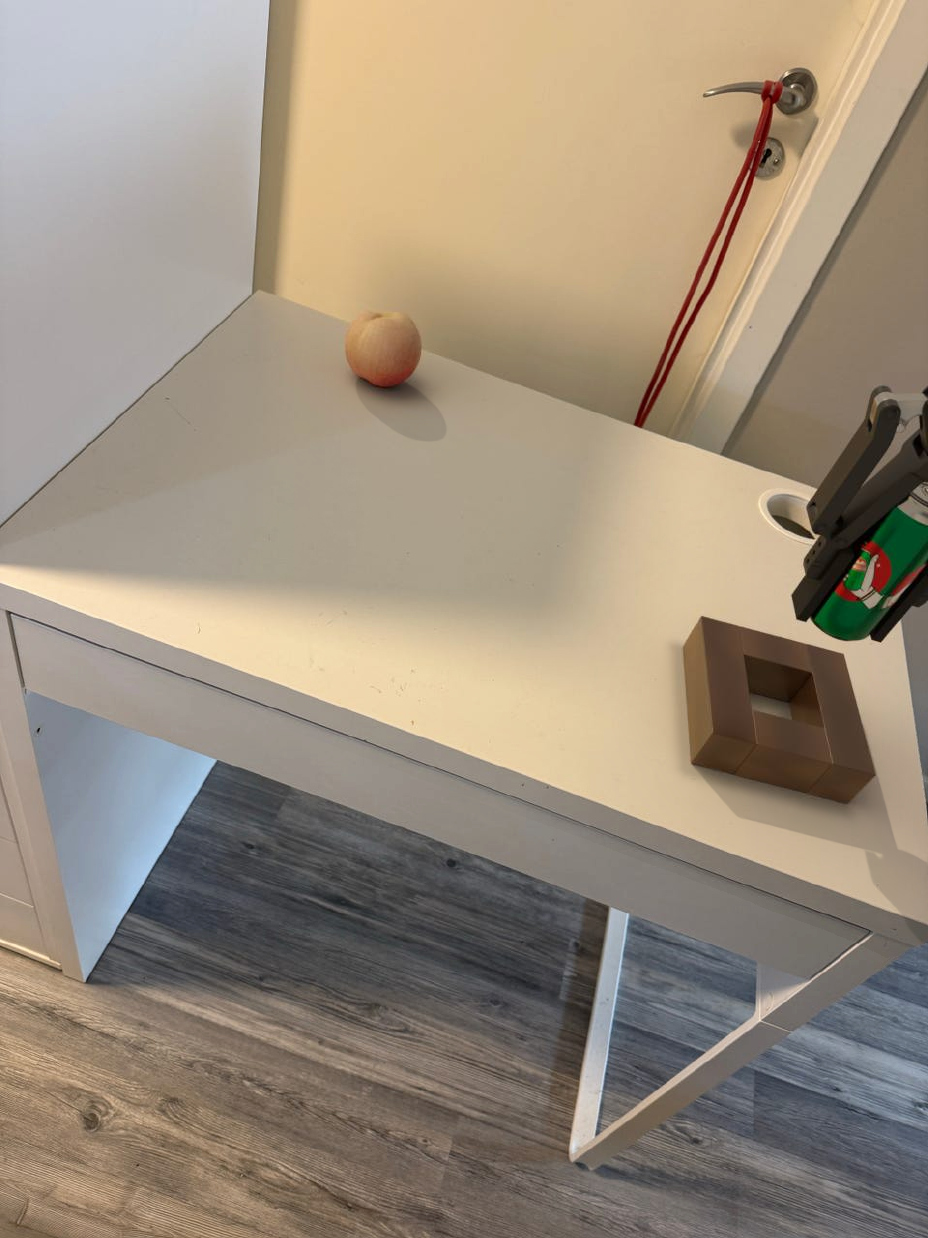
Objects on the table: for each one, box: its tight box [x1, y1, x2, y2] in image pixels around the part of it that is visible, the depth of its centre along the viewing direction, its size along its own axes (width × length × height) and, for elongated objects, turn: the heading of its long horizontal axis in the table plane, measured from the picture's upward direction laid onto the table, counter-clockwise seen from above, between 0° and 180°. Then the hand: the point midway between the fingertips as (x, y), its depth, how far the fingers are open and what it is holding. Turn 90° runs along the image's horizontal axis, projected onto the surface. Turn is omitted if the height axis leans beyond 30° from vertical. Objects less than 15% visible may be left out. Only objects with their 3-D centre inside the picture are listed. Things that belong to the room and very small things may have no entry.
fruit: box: [344, 311, 423, 388], centre depth 93 cm, size 8×8×8 cm
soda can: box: [809, 482, 928, 642], centre depth 58 cm, size 5×5×12 cm
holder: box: [682, 615, 877, 804], centre depth 69 cm, size 13×13×4 cm
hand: (835, 618), depth 62 cm, fingers closed on soda can, 5 cm apart
